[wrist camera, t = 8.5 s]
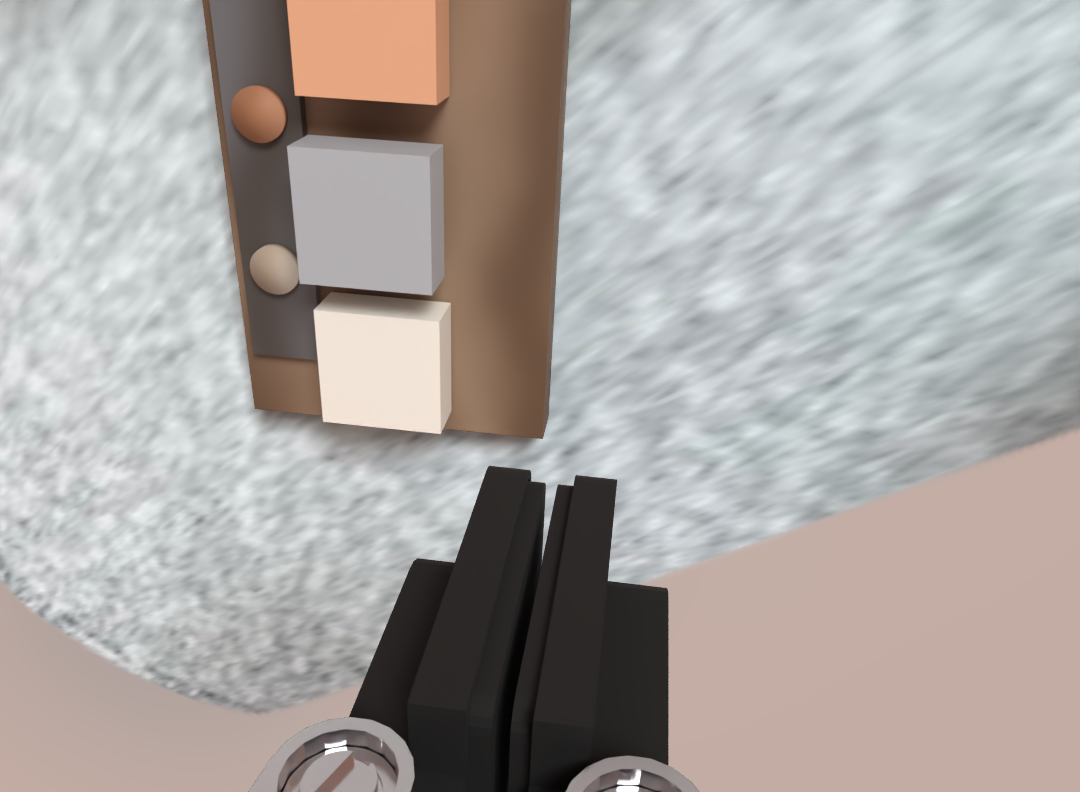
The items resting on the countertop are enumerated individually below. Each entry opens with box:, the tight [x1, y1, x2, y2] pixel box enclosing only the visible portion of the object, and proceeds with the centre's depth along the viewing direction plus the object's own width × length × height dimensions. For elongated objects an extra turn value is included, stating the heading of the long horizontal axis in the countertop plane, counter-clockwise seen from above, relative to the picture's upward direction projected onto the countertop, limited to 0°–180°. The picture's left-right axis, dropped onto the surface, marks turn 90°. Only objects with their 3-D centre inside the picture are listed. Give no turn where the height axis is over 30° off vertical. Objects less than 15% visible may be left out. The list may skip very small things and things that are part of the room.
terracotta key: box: [287, 0, 450, 105], centre depth 29 cm, size 5×5×2 cm
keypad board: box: [203, 0, 571, 439], centre depth 34 cm, size 13×20×3 cm, turn 177°
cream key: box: [313, 292, 451, 434], centre depth 35 cm, size 5×5×2 cm
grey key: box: [287, 135, 444, 295], centre depth 31 cm, size 5×5×2 cm
